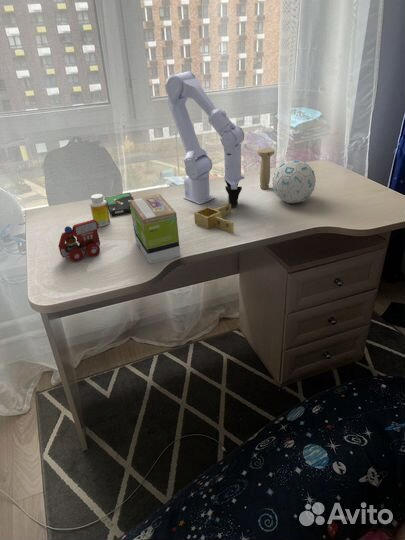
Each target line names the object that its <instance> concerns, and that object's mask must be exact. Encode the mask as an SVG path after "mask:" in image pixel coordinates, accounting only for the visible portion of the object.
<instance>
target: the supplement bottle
mask: <svg viewBox="0 0 405 540" xmlns="http://www.w3.org/2000/svg"><path fill="white" fill-rule="evenodd" d="M90 199H91V201H90V202H89V207H90V211H91V216H92V217H91V218H92V220H96V221H97V223H98V228H99V227H105V226H108V225H109V224H110V223H111V218H110V215H109V214H110V212H109V210H108V207H107V202H106V200H104V199H105V197H104V195H103V194H102V193H95V194H92V195H91V196H90Z"/></svg>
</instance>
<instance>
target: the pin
mask: <svg viewBox="0 0 405 540" xmlns="http://www.w3.org/2000/svg"><path fill="white" fill-rule="evenodd" d="M227 198H228V203H230V200H229V195H228V194H227ZM228 203H227V204H228ZM238 205H239V201H238V202H237V205H234V206H231V209H236V208H238Z"/></svg>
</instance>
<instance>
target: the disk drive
mask: <svg viewBox="0 0 405 540" xmlns="http://www.w3.org/2000/svg"><path fill="white" fill-rule="evenodd" d="M104 200H106V202H107V207H108V213H109V214H110V216H111V217H112V218H113V217H117V216H118V217H119V216H123V215H128V214H131V209H130V202H129V201H130V200H135V198H134V197H133V196H132V194H131V192H125V193H119V194H115V195H112V196H105V197H104Z"/></svg>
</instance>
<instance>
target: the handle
mask: <svg viewBox="0 0 405 540" xmlns="http://www.w3.org/2000/svg"><path fill="white" fill-rule="evenodd" d="M274 154H275V149H274V148H268V147H267V148H260V149H257V155H258V156H259V157H260V158H261V159H260V168H259V169H260V171H259V184H260V185H259V187H260V189H262V190H267V189H269V187H270V185H269V184H270V182H271V181H270V179H271V157H272V156H274Z"/></svg>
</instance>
